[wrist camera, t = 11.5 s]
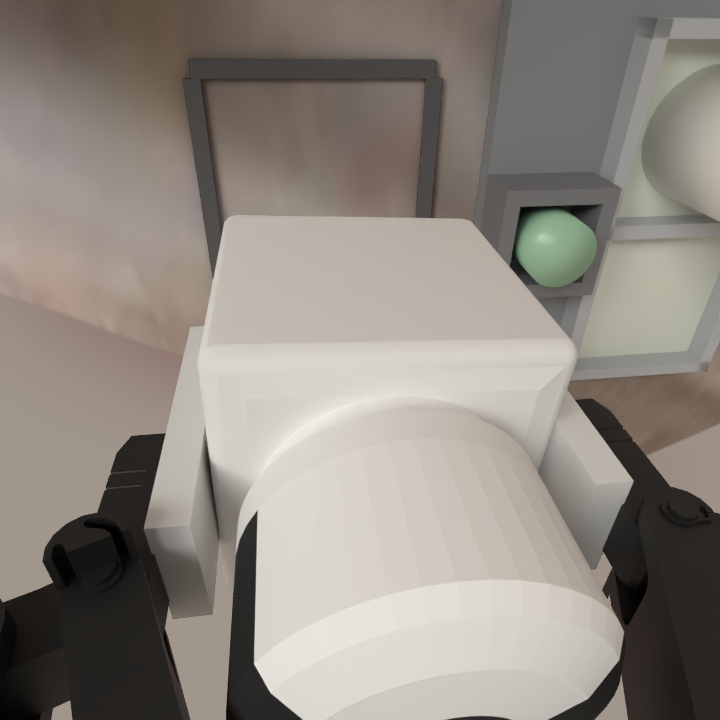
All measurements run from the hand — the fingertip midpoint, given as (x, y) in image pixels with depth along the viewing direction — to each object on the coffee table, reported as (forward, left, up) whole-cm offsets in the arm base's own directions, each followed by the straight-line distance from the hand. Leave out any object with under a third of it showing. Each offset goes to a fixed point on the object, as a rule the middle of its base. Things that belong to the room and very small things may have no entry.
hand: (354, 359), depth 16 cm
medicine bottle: (0, 0, -2) cm, 2 cm away
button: (+12, -2, -15) cm, 19 cm away
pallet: (+18, -2, -17) cm, 25 cm away
